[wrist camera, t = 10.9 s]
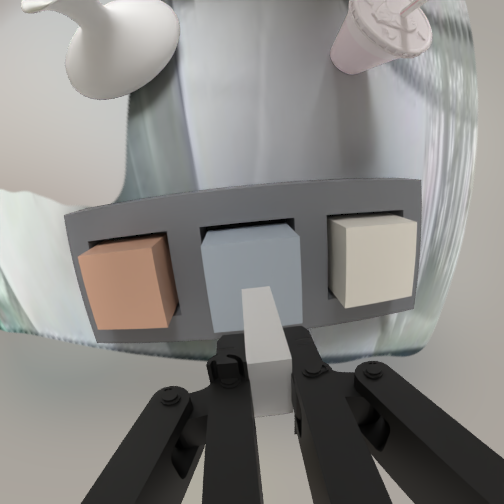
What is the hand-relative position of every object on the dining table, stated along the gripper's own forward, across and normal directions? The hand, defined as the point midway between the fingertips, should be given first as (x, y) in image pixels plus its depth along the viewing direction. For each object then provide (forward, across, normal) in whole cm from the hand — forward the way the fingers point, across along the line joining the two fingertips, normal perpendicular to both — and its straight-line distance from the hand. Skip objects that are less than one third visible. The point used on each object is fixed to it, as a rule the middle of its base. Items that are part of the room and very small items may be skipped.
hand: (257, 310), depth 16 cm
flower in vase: (+11, -9, +21) cm, 25 cm away
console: (+11, 0, 0) cm, 11 cm away
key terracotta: (+9, -10, 0) cm, 13 cm away
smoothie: (+11, +11, +18) cm, 24 cm away
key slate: (+8, 0, 0) cm, 8 cm away
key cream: (+9, +10, 0) cm, 13 cm away
